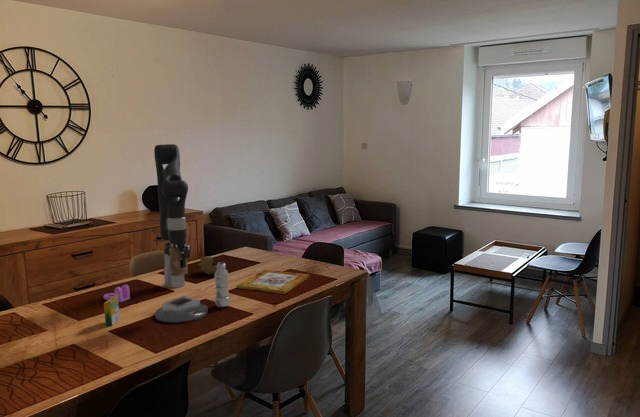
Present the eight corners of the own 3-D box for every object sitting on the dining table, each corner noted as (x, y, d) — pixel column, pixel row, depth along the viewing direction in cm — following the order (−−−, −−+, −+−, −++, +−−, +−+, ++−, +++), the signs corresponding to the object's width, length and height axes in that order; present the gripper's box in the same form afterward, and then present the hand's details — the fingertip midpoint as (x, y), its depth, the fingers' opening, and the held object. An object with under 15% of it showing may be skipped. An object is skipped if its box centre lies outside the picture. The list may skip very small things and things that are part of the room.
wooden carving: (223, 274, 273) (223, 257, 272) (217, 276, 269) (217, 259, 268) (202, 270, 282) (201, 253, 280) (196, 272, 278) (195, 255, 276)
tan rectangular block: (170, 275, 210) (169, 247, 208) (181, 272, 215) (180, 245, 213) (177, 276, 208) (175, 248, 206) (187, 273, 213) (186, 246, 211)
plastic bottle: (232, 304, 225) (231, 262, 222) (225, 309, 219) (223, 265, 216) (220, 303, 227) (218, 261, 224) (212, 308, 221) (210, 264, 218)
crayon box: (113, 319, 208) (111, 293, 206) (120, 319, 208) (118, 293, 206) (105, 326, 201) (103, 298, 199) (112, 326, 201) (110, 298, 199)
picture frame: (309, 274, 267) (284, 290, 239) (309, 278, 267) (284, 295, 240) (265, 269, 277) (236, 284, 249) (265, 273, 277) (236, 288, 250)
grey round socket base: (144, 317, 211) (143, 304, 210) (183, 302, 229) (182, 290, 228) (180, 327, 199) (179, 314, 198) (218, 310, 218) (217, 298, 217)
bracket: (130, 299, 234) (129, 284, 233) (120, 302, 230) (119, 288, 228) (110, 295, 240) (109, 281, 239) (101, 298, 235) (100, 284, 234)
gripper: (158, 227, 209) (160, 266, 212) (182, 230, 201) (184, 271, 204) (172, 224, 215) (174, 263, 218) (195, 227, 208) (197, 267, 210)
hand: (179, 266), depth 211 cm, fingers closed on tan rectangular block, 4 cm apart
